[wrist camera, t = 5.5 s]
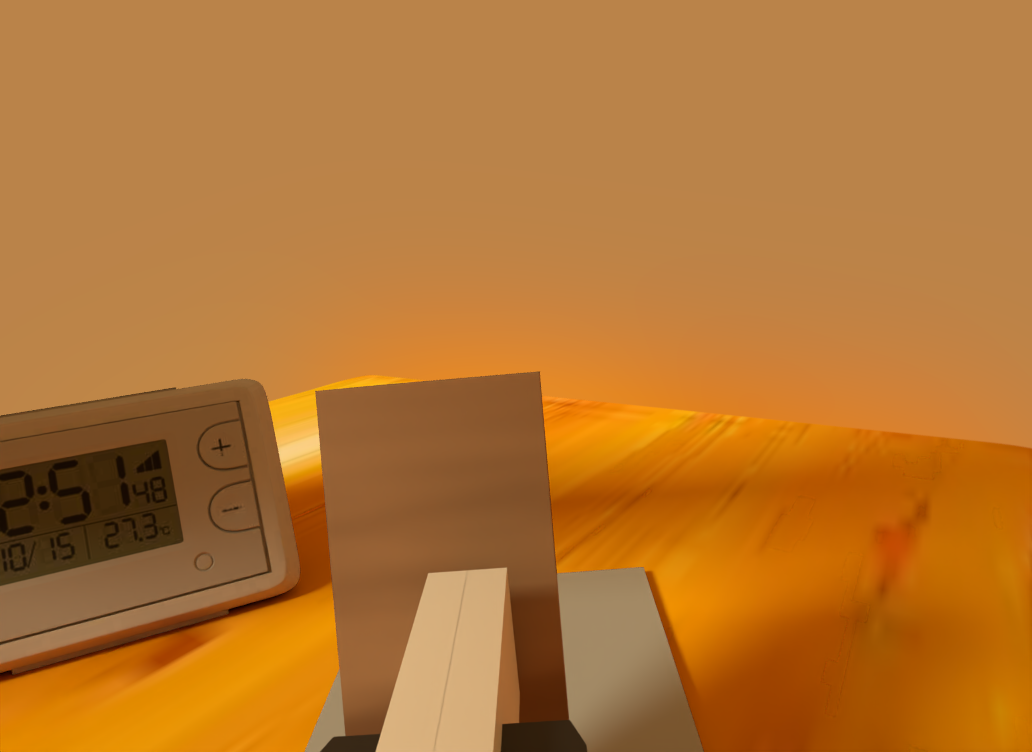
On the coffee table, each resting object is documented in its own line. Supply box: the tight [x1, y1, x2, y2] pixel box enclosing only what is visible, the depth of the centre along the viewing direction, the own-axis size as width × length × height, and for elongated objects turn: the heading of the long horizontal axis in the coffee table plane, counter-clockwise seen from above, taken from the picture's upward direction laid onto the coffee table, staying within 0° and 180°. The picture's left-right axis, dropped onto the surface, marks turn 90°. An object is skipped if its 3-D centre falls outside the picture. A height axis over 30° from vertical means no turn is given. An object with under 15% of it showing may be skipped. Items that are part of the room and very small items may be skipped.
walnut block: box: [315, 372, 569, 736], centre depth 16 cm, size 4×4×13 cm
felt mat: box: [305, 567, 704, 752], centre depth 23 cm, size 22×13×1 cm, turn 0°
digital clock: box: [0, 379, 300, 675], centre depth 33 cm, size 16×9×11 cm, turn 103°
